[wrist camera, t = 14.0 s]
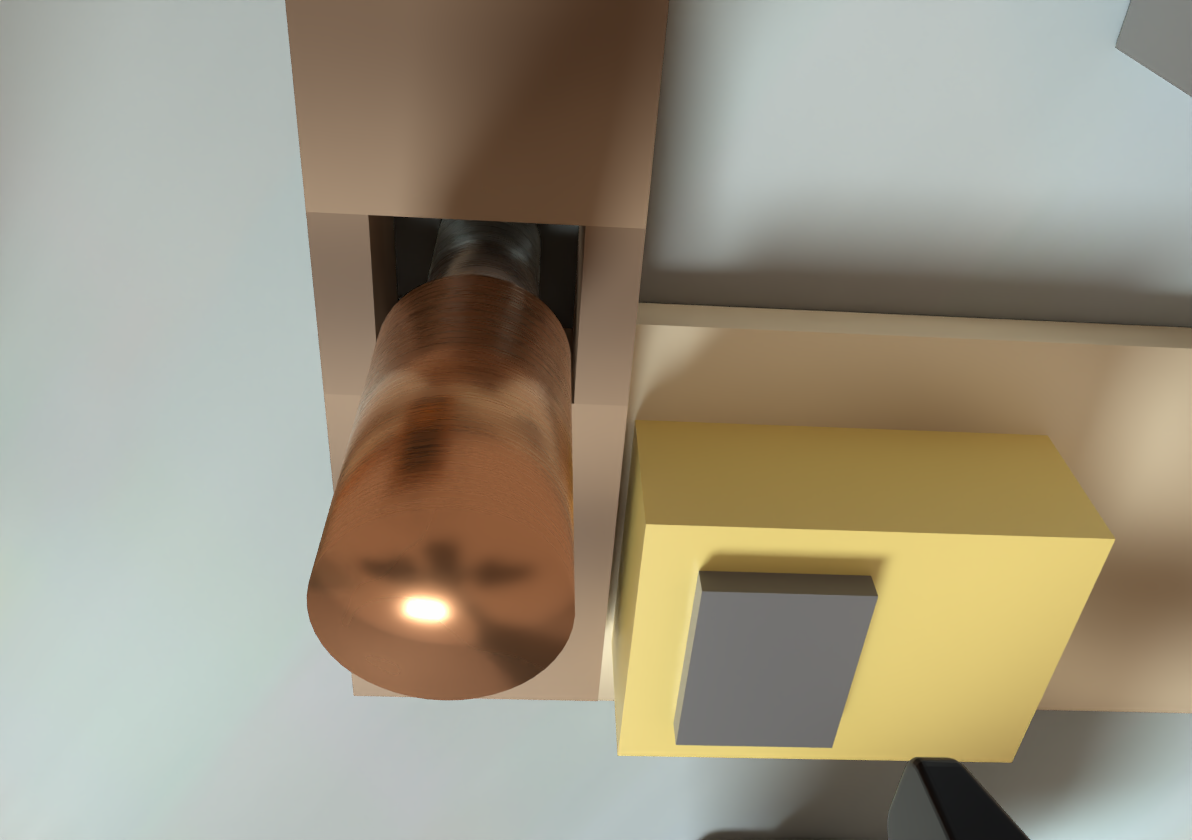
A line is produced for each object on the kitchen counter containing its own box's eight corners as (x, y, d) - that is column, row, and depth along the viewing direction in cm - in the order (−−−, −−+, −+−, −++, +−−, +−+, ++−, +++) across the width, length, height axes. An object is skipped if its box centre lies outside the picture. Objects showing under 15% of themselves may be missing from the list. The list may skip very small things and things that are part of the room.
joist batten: (594, 613, 24) (597, 701, 22) (371, 607, 23) (354, 695, 21) (662, -125, 15) (679, -97, 13) (312, -150, 15) (272, -125, 13)
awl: (565, 314, 19) (567, 703, 12) (411, 308, 19) (318, 698, 12) (572, 169, 18) (582, 513, 10) (406, 160, 17) (293, 504, 10)
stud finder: (964, 650, 24) (1020, 784, 21) (611, 642, 23) (618, 777, 20) (1047, 435, 20) (1129, 558, 17) (635, 420, 20) (648, 544, 17)
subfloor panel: (1195, 687, 26) (1212, 713, 25) (589, 673, 25) (589, 699, 24) (1401, 337, 20) (1430, 359, 19) (623, 302, 19) (625, 323, 18)
